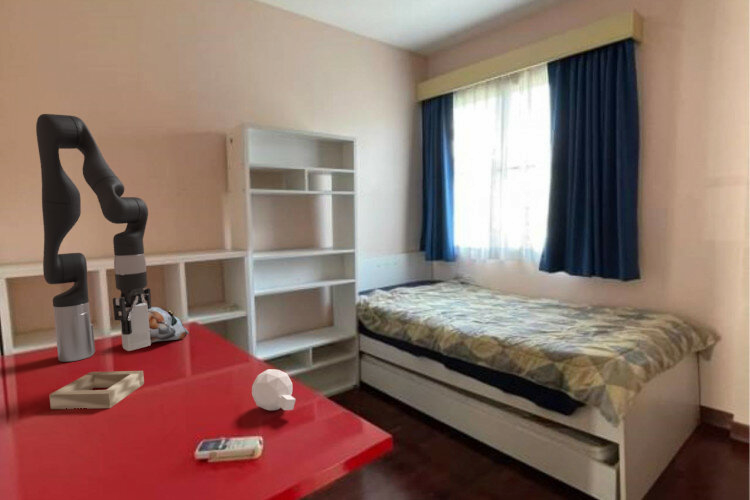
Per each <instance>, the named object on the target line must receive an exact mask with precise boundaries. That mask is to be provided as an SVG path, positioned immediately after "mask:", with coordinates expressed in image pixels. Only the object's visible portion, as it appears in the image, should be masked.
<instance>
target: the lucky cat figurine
mask: <svg viewBox="0 0 750 500" xmlns="http://www.w3.org/2000/svg"><path fill="white" fill-rule="evenodd" d="M148 317H149V329H150V342H151V344H152V343H153V344H154V343H156V342H167V341H177V340H178V341H179V340H182V341H183V340H184V337H185V338H186V336H187V335H188V334H189V331H188V330H187V328H186V327H185V326H184V324H183V323H182V321H181V319H180V318H178V317H177V316H175V315H174V311H173V310H171V309H169V310H168V311H166V310H164V309H162V308H160V307H158V306H151V309H148Z"/></svg>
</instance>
